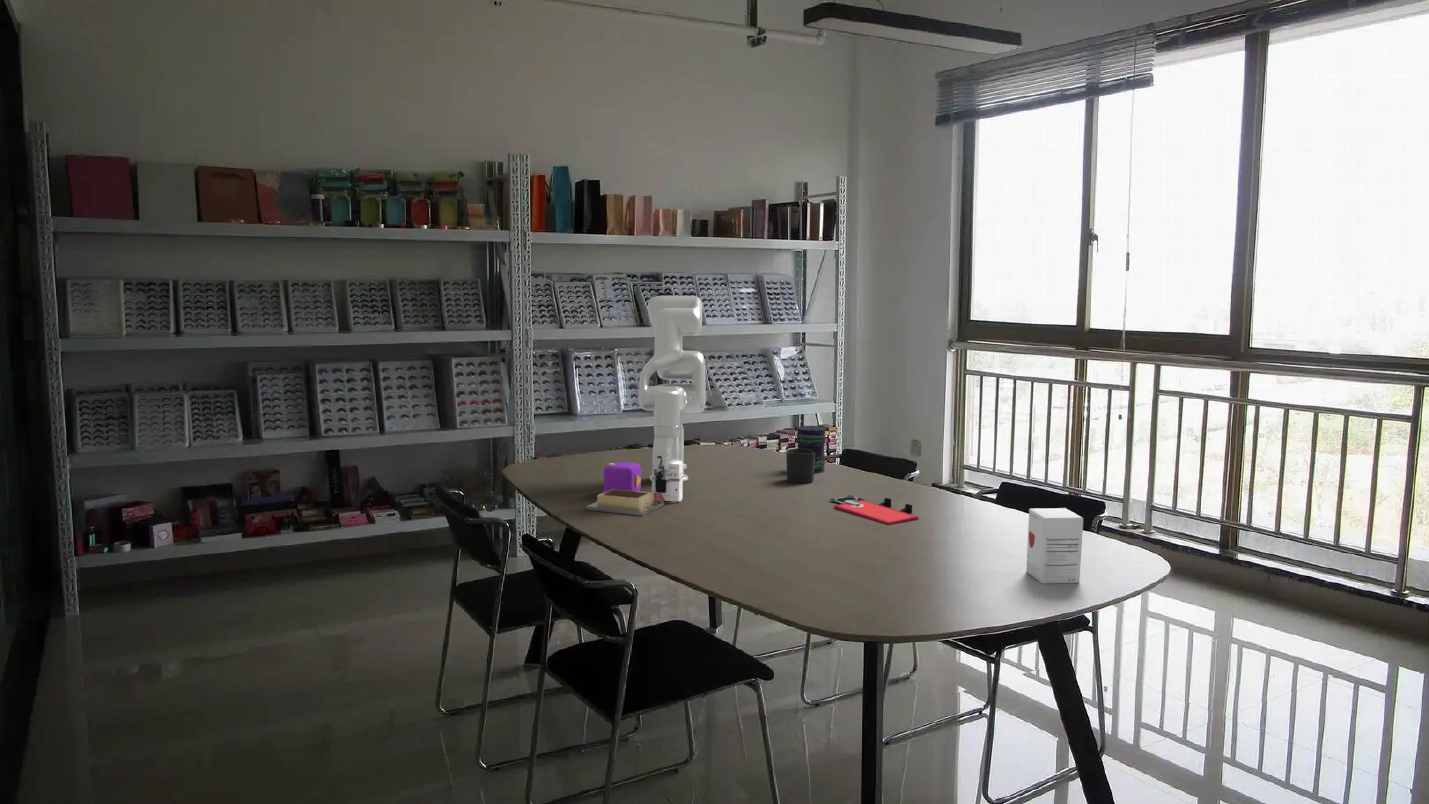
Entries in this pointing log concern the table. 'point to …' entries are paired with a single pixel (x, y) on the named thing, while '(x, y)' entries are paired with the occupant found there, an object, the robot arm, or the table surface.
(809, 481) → the pen holder
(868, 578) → the table surface
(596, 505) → the mount collar
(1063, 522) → the supplement box
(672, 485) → the ink box
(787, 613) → the table surface
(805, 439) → the storage jar
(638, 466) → the toy camera
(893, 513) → the red board with handle
